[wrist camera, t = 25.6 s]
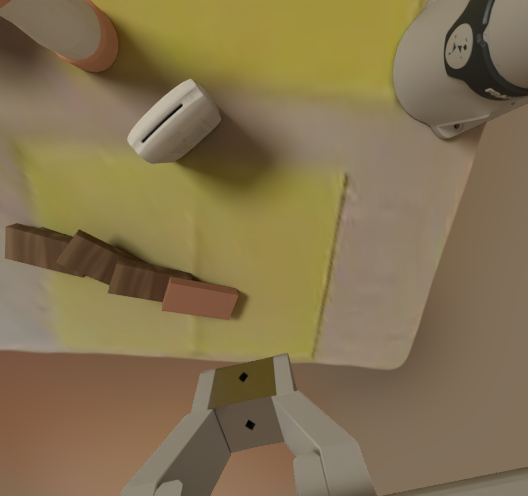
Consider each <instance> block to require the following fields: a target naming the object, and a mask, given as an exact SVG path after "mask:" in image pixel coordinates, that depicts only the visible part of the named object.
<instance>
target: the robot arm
mask: <svg viewBox="0 0 528 496" xmlns="http://www.w3.org/2000/svg"><path fill="white" fill-rule="evenodd" d="M393 81H394V88H395V92H396V95H397V97H398V100H399V102H400V103H401V105H402V107H403V108H404V109H405V110H406V112H407V113H409V114H410V115H411V116H412V117H414V118H415V119H417V120H419V121H421V122H423V123H426V124H427V125H429V126H430V127H431V128H432V130H433V131H434V132H435V134H436V135H437V136H438V137H439V138H441V139H448V138H451V137H454V136H456V135H458V134H460V133H462V132H465V131H467V130H469V129H471V128H474V127H476V126H478V125H480V124H482V123H485V122H487V121H489V120H491V119H494V118H496V117H498V116H500V115H502V114H505V113H507V112H509V111H511V110H513V109H516V108H518V107H520V106H522V105H525V104H527V103H528V0H429V1H428V4H427V6H426V8H425V9H424V10H423V12H422V13H421V14H420V15H419V16H418V17H417V18H416V19H415V20H414V22H413V23H412V24H411V25H410V27H409V28H408V29H407V31H406V32H405V34H404V36H403V38H402V40H401V42H400V44H399V46H398V49H397V52H396V56H395V60H394V67H393ZM455 124H456V128H454V125H455ZM280 442H285V444H286V445H287V446H288V448H289V449H290V450H291V452H292V453H293V455H294V456H295V457H296V458H295V460H294V461H293V464H294V473H295V481H296V490H297V496H377V495H376V492H375V489H374V487H373V484H372V481H371V478H370V476H369V473H368V470H367V468H366V465H365V462H364V459H363V456H362V454H361V451H360V448H359V445H358V443H357V441H356V440H354V439H353V438H352V437H351V436H350V435H349V434H348V433H347V432H346V431H344V430H343V429H342V428H341V427H340V426H339V425H338V424H336V423H335V422H334V421H333V420H332V419H331V418H330V417H328V416H327V415H326V414H325V413H324V412H323V411H322V410H321V409H319V408H318V407H317V406H316V405H315V404H314V403H313V402H312V401H311V400H309V399H308V398H307V397H306V396H305V395H304V394H303V393H302V392H300V391H297V388H296V384H295V379H294V375H293V371H292V367H291V363H290V359H289V355H288V353H284V354H280V355H276V356H273V357H269V358H265V359H260V360H256V361H251V362H247V363H242V364H237V365H232V366H227V367H222V368H217V369H212V370H207V371H203V372H202V373H201V374H200V377H199V381H198V385H197V390H196V394H195V398H194V402H193V407H192V410H191V414H188V415H186V416H185V417H184V418H183V419H182V420H181V422H180V423H179V424H178V425H177V426H176V427H175V429H174V430H173V431H172V432H171V433H170V434H169V436H168V437H167V438H166V439H165V440H164V441H163V443H162V444H161V445H160V446H159V447H158V449H157V450H156V451H155V452H154V453H153V454H152V455H151V457H150V458H149V459H148V460H147V461H146V462H145V464H144V465H143V466H142V467H141V468H140V469H139V471H138V472H137V473H136V474H135V475H134V476H133V478H132V479H131V480H130V481H129V482H128V483H127V485H126V486H125V487H124V488H123V490H122V492H121V495H120V496H210V495H211V493H212V491H213V489H214V487H215V485H216V483H217V481H218V479H219V477H220V475H221V473H222V471H223V469H224V467H225V466H226V463H227V461H228V460H229V458H230V456H231V454H230V453H232V452H237V451H241V450H245V449H249V448H253V447H258V446H263V445H269V444H275V443H280ZM383 496H528V467H525V468H520V469H514V470H510V471H504V472H499V473H494V474H489V475H484V476H479V477H474V478H469V479H464V480H459V481H454V482H449V483H444V484H439V485H434V486H428V487H424V488H418V489H414V490H408V491H403V492H399V493H393V494H388V495H383Z"/></svg>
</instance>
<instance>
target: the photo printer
mask: <svg viewBox="0 0 528 496" xmlns="http://www.w3.org/2000/svg"><path fill="white" fill-rule="evenodd" d="M221 120H222V119H221V117H220V112H219V109H218V108H217V106H216V104H215V103H214V101H213V100H212V98H211V96H210V95H209V93H208V92H207V91H206V90H205V89H204V88H203V87H202V86H201V85H199V84H196V83H194V81H193V80H192V79H188V80H186V81H184V82H182V83H181V84H179V85H178V86H176V87H175V88H174V89H172V90H171V91H170V92H169V93H167V94H166V95H165V96H164V97H163V98H162V99H160V100H159V101H158V102H157V103H156V104H155V105H154V106H153V107H152V108H151V109H150V110H149V111H148V112H147V113H146V114H145V115H144V116H143V117H142V118H141V119H140V120H139V121H138V123H137V124H136V125H135V126H134V127H133V129H132V130H131V132H130V134H129V136H128V142H129V144H130V146H131V147H132V148H133V149H134V150H135V151H136V153H137V154H138V155H139V156H140V157H142V158H143V159H144V160H146V161H147V162H149V163H152V164H155V163H169V162H174V161H176V160H178V159H180V158H181V157H182V156H184V155H185V154H186V153H187V152H189V151H190V150H191V149H192V148H193V147H194V146H196V145H197V144H198V143H199V142H200V141H201V140H202V139H204V138H205V137H206V136H207V135H208V134H209V133H210V132H211V131H212V130H213V129H214V128H215V127H216V126H217V125H218V124H219V123H220V121H221Z"/></svg>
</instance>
